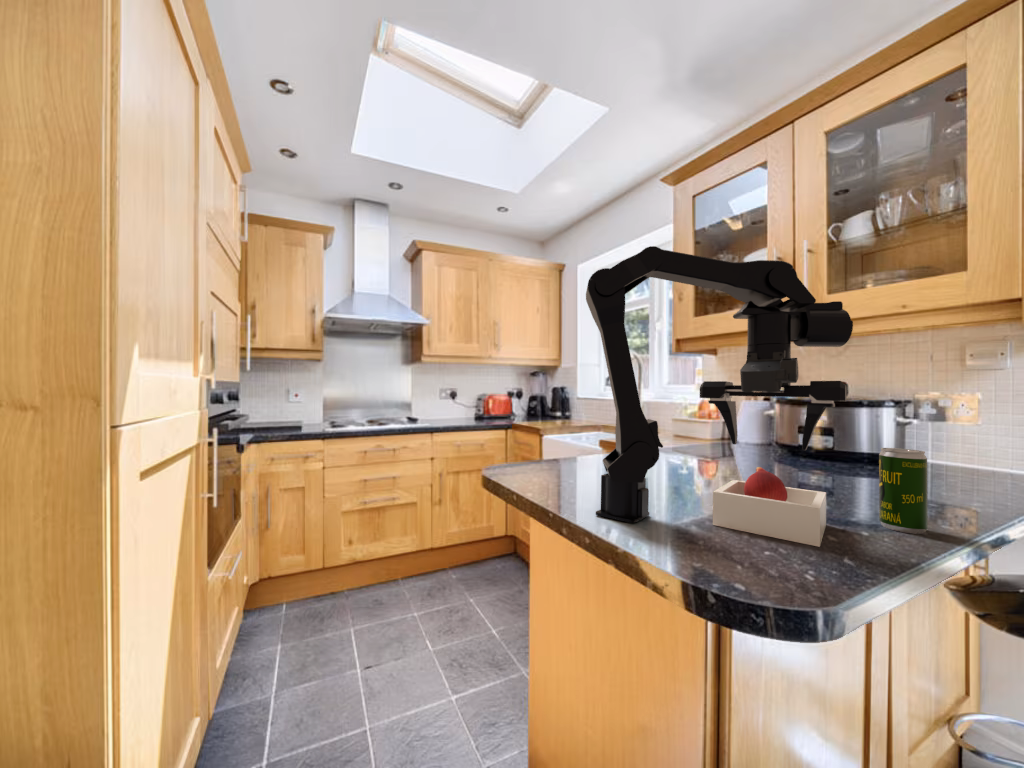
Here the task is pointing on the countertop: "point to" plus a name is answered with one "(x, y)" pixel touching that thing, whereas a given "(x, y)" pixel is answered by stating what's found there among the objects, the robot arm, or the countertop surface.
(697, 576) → the countertop surface
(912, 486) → the green soda can
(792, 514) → the bin
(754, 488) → the onion
